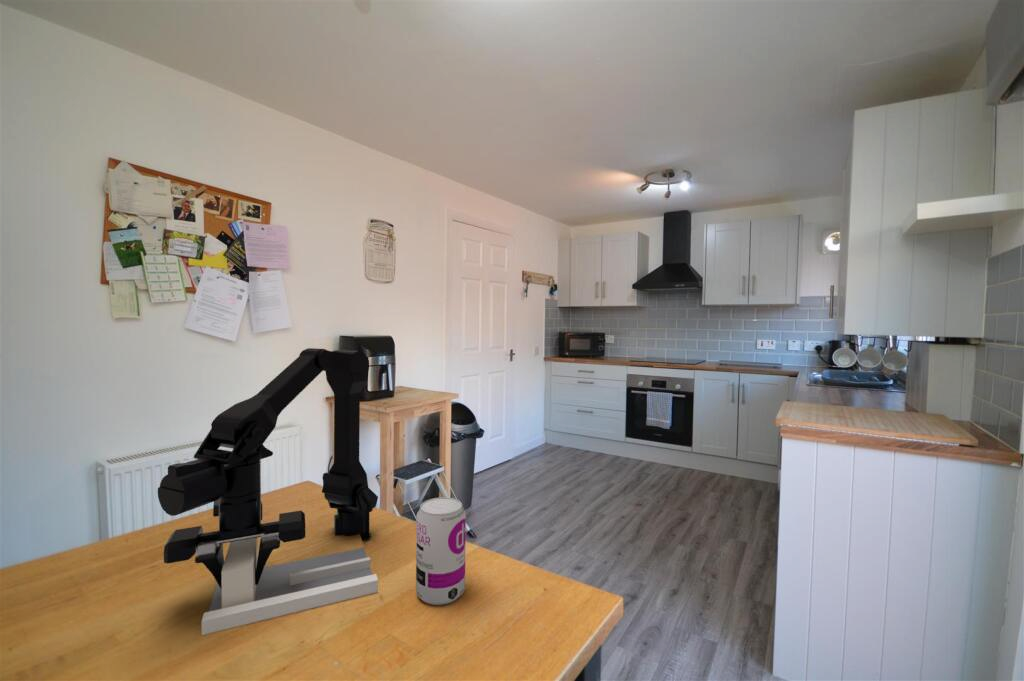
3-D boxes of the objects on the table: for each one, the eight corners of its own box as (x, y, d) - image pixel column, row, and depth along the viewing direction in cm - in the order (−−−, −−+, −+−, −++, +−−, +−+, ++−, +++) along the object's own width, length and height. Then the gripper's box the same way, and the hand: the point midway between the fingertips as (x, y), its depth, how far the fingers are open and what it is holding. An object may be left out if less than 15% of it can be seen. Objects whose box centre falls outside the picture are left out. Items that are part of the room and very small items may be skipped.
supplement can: (473, 585, 78) (474, 501, 77) (447, 613, 70) (448, 519, 70) (434, 574, 81) (435, 492, 81) (405, 599, 74) (406, 509, 73)
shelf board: (364, 555, 87) (364, 537, 87) (378, 600, 73) (378, 580, 73) (218, 585, 77) (218, 565, 77) (201, 645, 62) (201, 621, 62)
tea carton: (257, 577, 77) (257, 537, 76) (253, 610, 68) (252, 565, 68) (230, 582, 75) (229, 542, 75) (221, 618, 66) (221, 572, 66)
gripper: (303, 468, 82) (304, 551, 83) (179, 482, 74) (180, 575, 74) (305, 488, 72) (305, 582, 73) (162, 508, 64) (163, 614, 64)
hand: (240, 586), depth 71 cm, fingers closed on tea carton, 4 cm apart
